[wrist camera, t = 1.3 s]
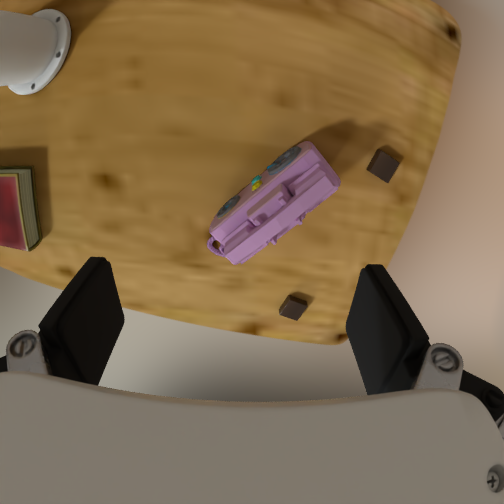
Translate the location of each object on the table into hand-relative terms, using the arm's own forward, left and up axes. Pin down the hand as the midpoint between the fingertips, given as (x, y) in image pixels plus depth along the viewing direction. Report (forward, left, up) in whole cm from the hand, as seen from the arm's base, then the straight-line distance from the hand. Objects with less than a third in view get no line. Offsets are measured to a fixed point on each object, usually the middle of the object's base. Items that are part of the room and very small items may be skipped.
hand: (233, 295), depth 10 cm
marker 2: (+15, +7, -25) cm, 30 cm away
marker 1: (+15, -16, -25) cm, 33 cm away
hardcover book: (-36, -19, -25) cm, 48 cm away
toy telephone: (+4, -4, -25) cm, 25 cm away
